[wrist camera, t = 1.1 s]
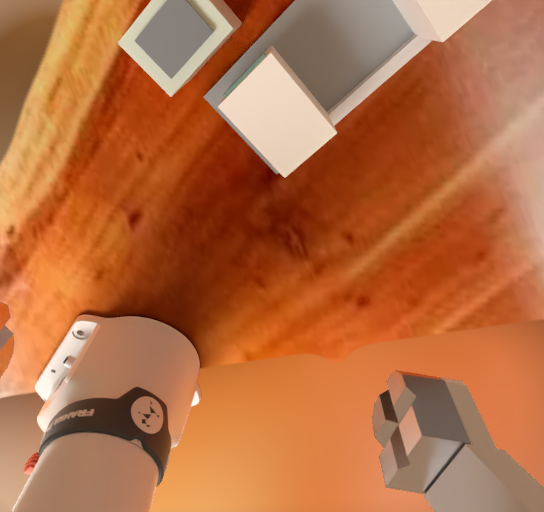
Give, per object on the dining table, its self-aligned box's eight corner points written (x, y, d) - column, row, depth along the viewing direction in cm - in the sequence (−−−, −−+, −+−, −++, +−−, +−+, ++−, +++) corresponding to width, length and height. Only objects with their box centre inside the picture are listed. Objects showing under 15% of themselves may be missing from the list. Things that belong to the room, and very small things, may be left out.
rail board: (276, 168, 39) (276, 201, 32) (205, 93, 35) (189, 113, 29) (495, -24, 31) (553, -31, 24) (431, -144, 27) (478, -190, 21)
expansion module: (192, 78, 35) (169, 98, 27) (150, 35, 33) (115, 43, 26) (242, 23, 32) (232, 28, 25) (201, -27, 31) (178, -36, 24)
